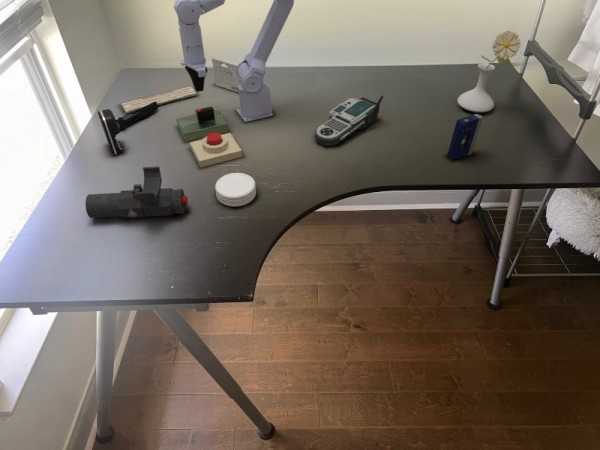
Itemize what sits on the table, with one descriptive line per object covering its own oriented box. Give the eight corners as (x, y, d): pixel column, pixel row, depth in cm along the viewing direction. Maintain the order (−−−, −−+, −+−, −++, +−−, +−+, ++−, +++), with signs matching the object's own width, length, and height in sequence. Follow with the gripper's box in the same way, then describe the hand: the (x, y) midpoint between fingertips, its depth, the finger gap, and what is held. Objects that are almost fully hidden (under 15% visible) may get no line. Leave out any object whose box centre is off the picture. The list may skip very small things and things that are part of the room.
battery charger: (127, 152, 126) (115, 117, 118) (113, 156, 125) (100, 120, 117) (121, 140, 130) (110, 105, 123) (108, 144, 129) (96, 108, 121)
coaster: (240, 212, 108) (238, 201, 105) (208, 198, 112) (206, 187, 109) (263, 190, 114) (263, 179, 112) (233, 178, 118) (231, 167, 115)
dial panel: (218, 118, 140) (217, 109, 138) (228, 132, 134) (227, 123, 132) (178, 127, 136) (176, 118, 134) (185, 142, 130) (183, 133, 128)
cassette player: (452, 160, 124) (463, 122, 116) (446, 156, 125) (456, 118, 117) (472, 153, 126) (484, 116, 118) (466, 149, 128) (477, 112, 120)
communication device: (302, 137, 132) (302, 111, 126) (352, 107, 145) (354, 82, 139) (333, 153, 127) (335, 126, 120) (382, 120, 139) (386, 94, 133)
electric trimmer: (161, 111, 143) (159, 102, 141) (121, 131, 134) (118, 122, 132) (154, 108, 145) (152, 99, 143) (113, 127, 136) (110, 118, 134)
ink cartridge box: (219, 82, 158) (215, 55, 151) (244, 90, 153) (241, 63, 147) (214, 85, 156) (211, 58, 149) (239, 93, 152) (237, 65, 145)
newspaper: (127, 114, 141) (125, 109, 140) (120, 105, 146) (119, 100, 144) (196, 96, 150) (196, 91, 149) (189, 88, 155) (188, 83, 153)
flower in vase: (453, 111, 143) (475, 32, 126) (458, 96, 151) (479, 19, 134) (496, 120, 140) (524, 39, 123) (498, 103, 148) (525, 25, 130)
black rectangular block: (213, 116, 135) (211, 105, 132) (215, 119, 134) (213, 108, 131) (197, 120, 133) (195, 109, 131) (198, 122, 132) (196, 111, 130)
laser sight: (99, 202, 110) (86, 170, 104) (190, 197, 112) (183, 165, 105) (89, 229, 103) (74, 196, 97) (187, 224, 105) (179, 191, 98)
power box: (230, 139, 131) (229, 127, 129) (242, 157, 125) (241, 144, 122) (190, 148, 128) (188, 136, 125) (200, 167, 121) (198, 155, 118)
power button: (219, 136, 126) (218, 131, 125) (223, 144, 123) (223, 138, 122) (205, 140, 124) (204, 134, 123) (209, 147, 122) (209, 142, 121)
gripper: (171, 37, 125) (179, 82, 135) (184, 56, 116) (192, 104, 125) (195, 33, 128) (202, 78, 137) (210, 52, 118) (216, 99, 128)
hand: (199, 90), depth 131 cm, fingers closed
